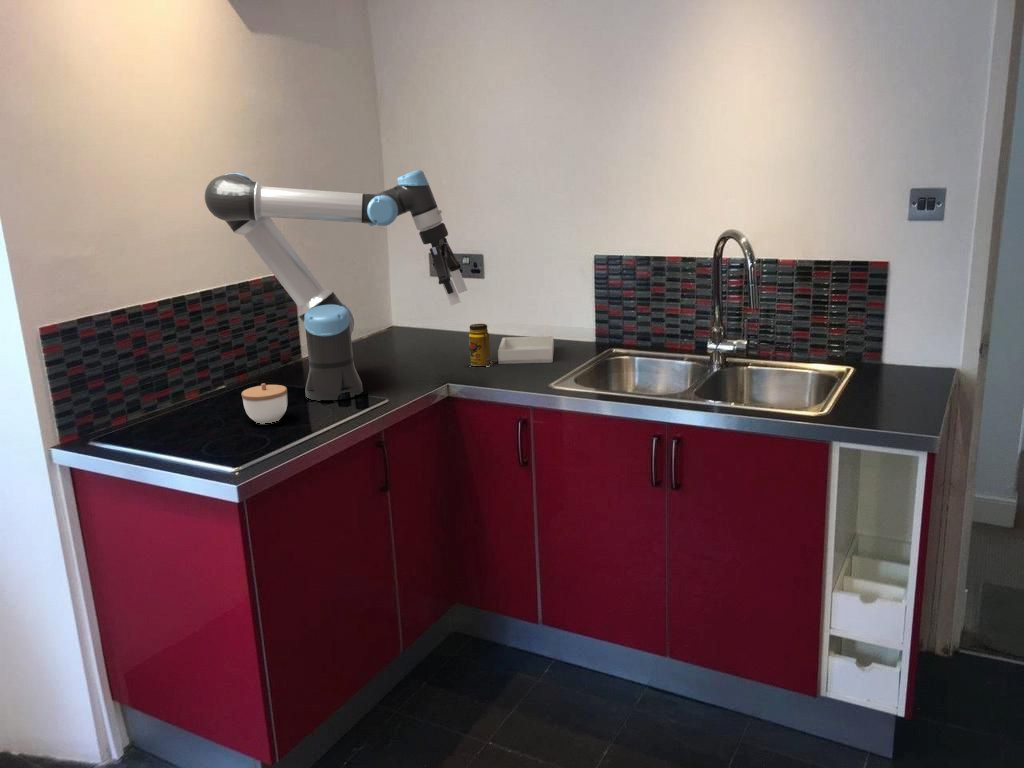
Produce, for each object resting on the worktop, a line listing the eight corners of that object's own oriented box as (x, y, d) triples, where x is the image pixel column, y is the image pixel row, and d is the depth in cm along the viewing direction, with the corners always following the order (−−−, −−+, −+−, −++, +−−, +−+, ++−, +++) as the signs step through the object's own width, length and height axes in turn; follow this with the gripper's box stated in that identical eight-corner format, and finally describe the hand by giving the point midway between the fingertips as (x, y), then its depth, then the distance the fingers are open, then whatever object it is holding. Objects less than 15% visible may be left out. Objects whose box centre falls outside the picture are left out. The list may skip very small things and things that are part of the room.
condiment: (465, 366, 264) (463, 327, 260) (476, 359, 271) (474, 321, 268) (488, 367, 261) (486, 327, 258) (498, 360, 269) (496, 321, 266)
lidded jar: (236, 423, 219) (231, 386, 216) (272, 411, 227) (267, 376, 225) (263, 430, 212) (258, 392, 210) (299, 418, 221) (295, 381, 218)
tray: (498, 363, 265) (497, 350, 264) (503, 350, 282) (502, 337, 281) (552, 362, 264) (552, 349, 263) (553, 348, 281) (553, 336, 280)
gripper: (435, 229, 233) (465, 304, 239) (450, 214, 256) (477, 282, 262) (409, 239, 234) (440, 313, 240) (426, 223, 258) (453, 291, 264)
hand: (459, 297), depth 251 cm, fingers open, 13 cm apart
